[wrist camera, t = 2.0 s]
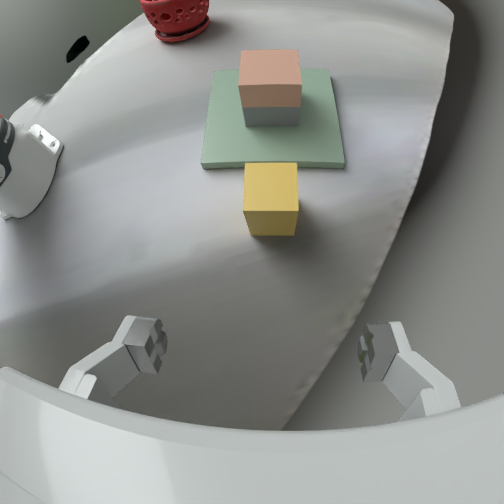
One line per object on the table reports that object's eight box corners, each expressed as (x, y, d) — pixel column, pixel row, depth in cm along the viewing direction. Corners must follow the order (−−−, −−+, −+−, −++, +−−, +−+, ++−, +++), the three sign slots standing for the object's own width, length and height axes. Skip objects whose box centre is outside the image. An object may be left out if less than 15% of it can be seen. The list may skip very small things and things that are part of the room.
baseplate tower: (203, 168, 36) (182, 126, 27) (216, 77, 40) (204, 34, 31) (342, 168, 34) (359, 124, 25) (327, 76, 38) (333, 31, 29)
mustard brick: (250, 235, 34) (242, 210, 26) (252, 196, 35) (245, 163, 27) (294, 235, 33) (298, 210, 25) (293, 196, 34) (296, 162, 26)
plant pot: (192, 49, 43) (176, 1, 31) (144, 45, 45) (125, 5, 34) (227, 18, 45) (219, -25, 33) (180, 15, 47) (167, -23, 36)
